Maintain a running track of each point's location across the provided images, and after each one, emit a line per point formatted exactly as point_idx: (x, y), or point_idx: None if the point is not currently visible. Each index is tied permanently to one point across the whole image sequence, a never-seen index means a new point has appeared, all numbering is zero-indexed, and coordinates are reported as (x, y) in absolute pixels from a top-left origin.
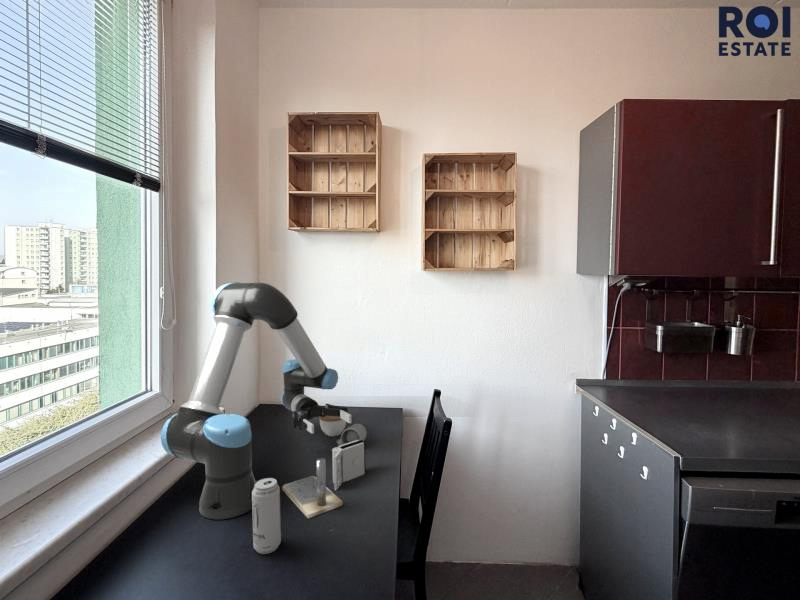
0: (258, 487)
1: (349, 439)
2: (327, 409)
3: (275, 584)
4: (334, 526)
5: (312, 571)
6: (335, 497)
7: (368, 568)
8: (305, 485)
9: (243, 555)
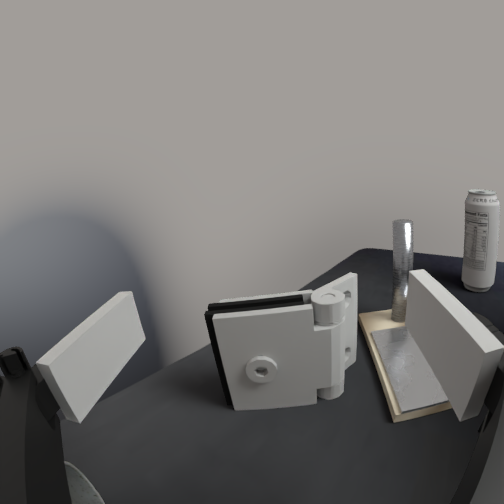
0: (487, 190)
1: None
2: (29, 490)
3: (455, 260)
4: (387, 293)
5: (422, 262)
6: (367, 324)
7: (368, 258)
8: (430, 371)
9: (500, 282)
